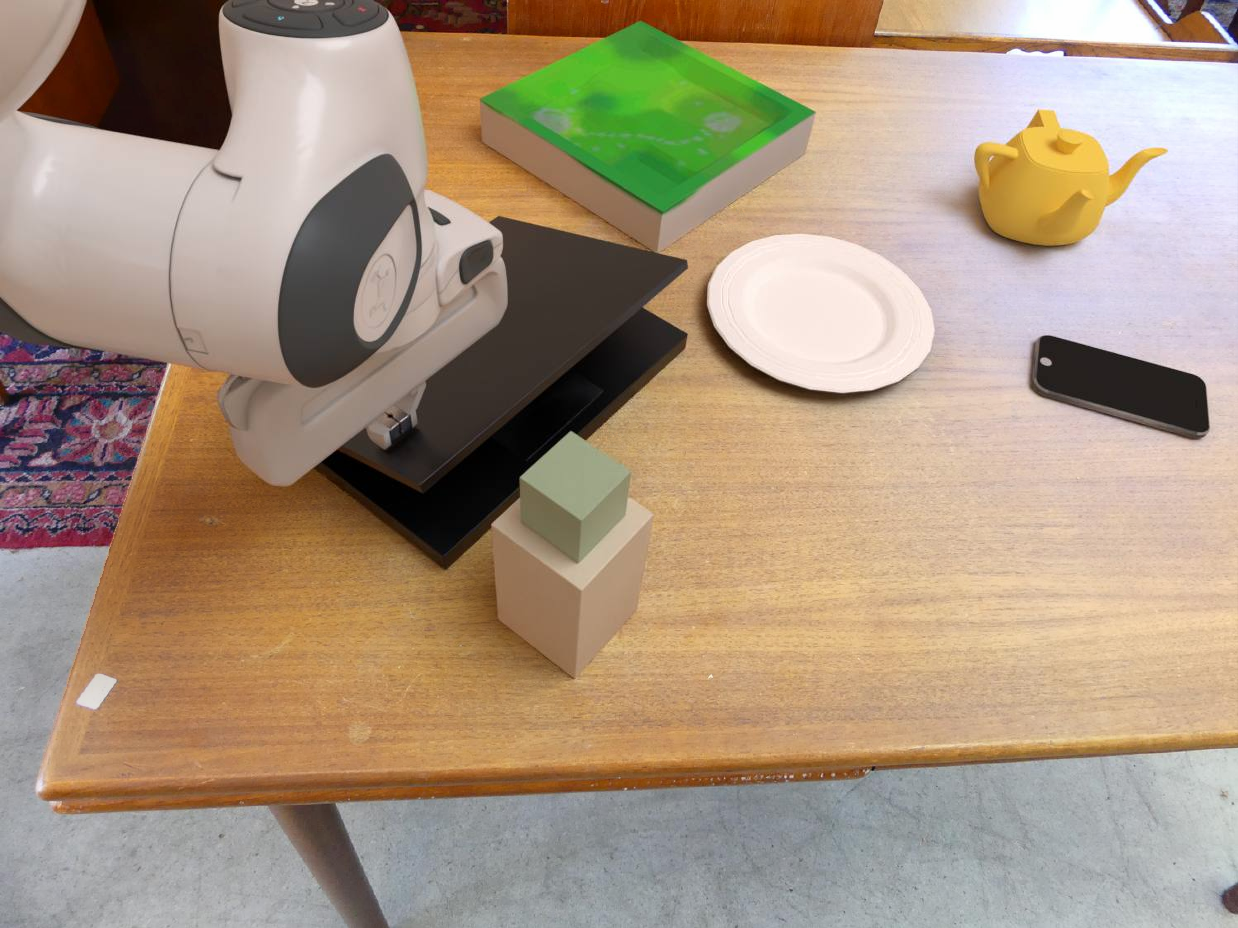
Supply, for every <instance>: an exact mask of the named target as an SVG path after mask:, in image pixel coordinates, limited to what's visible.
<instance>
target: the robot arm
mask: <svg viewBox="0 0 1238 928" xmlns="http://www.w3.org/2000/svg"><path fill="white" fill-rule="evenodd" d="M87 1H88V0H0V332H1V333H2V334H4V335H6V336H8V337H10V338H12V339H14V340H17V341H20V342H22V343H27V344H30V345H31V344H32V345H38V346H48V347H57V348H64V349H65V348H66V349H75V350H83V351H84V350H85V351H102V352H107V353H113V354H118V355H123V356H128V357H133V358H139V359H145V360H149V361H154V362H160V363H165V364H171V365H176V366H181V367H186V368H191V369H198V370H203V371H207V372H216V373H222V374H226V375H227V374H228V376H227V377H226V379H225V380H224V381H223V383H222V384H221V387H219V388H218V390H217V391H216V400H217V404H218V406H219V409H220V411H221V413H222V415H223V417H224V420H225V422H226V423H227V424H228V430H229V434H230V438H231V440H232V445H233V447H234V450H235V453H236V456H237V457H238V460H240V462H241V463H242V464H243V465H244V466H245V467H246V468H247V469H248V470H249V471H251V472H252V474H255V475H256V476H257V477H258V478H259V479H261V480H262V481H263V482H265V483H267V484H269V485H271V486H275V487H284V488H286V487H290V486H292V485H293V484H295V483H296V482H298V481H299V480H300V479H301V478H302V477H304V476H305V475H306V474H307V473H309V472H310V471H311V470H313V469H314V467H315V466H316V465H318V464H319V463H320V462H322V461H323V460H324V459H325V458H327V457H328V456H329V455H331V454H332V453H333V452H334V451H336V450H337V449H338V448H340V447H341V446H342V445H343V444H345V443H346V442H347V441H349V440H350V439H351V438H352V437H354V436H355V435H356V434H358V433H359V432H360V431H361V430H363V429H364V428H366V429H367V433H368V436H369V438H370V439H371V440H372V441H373V442H374V443H376V444H377V445H378V446H380V447H381V448H382V449H384V450H385V449H387V448H388V447H389V446H391V445H392V444H393V443H394V442H395V441H396V440H398V439H399V438H400V437H401V436H403V435H404V434H405V433H407V432H408V431H409V430H411V429H412V428H413V427H414V426H416V425H417V424H418V422H417V415H416V409H417V407H418V405H419V402H420V400H421V397H422V395H423V392H424V390H425V387H426V380H427V379H428V378H430V377H431V376H432V375H434V374H435V373H436V372H438V371H439V370H440V369H441V368H443V367H444V366H445V365H447V364H448V363H449V362H450V361H452V360H453V359H454V358H456V357H457V356H458V355H459V354H461V353H462V352H463V351H465V350H466V349H467V348H468V347H470V346H471V345H472V344H474V343H475V342H476V341H477V340H479V339H480V338H481V337H483V336H484V335H485V334H486V333H488V332H489V331H490V330H492V329H493V328H494V327H496V326H497V325H498V324H499V322H500V321H501V319H502V317H503V315H504V313H505V311H506V308H507V303H508V291H507V276H506V269H505V264H504V261H503V259H502V258H501V254H502V250H503V235H502V233H501V231H499V230H498V229H497V228H495V227H494V226H493V225H491V224H490V223H489V222H490V221H487V220H486V219H485V218H483V217H482V216H480V215H479V214H477V213H476V212H474V211H472V210H470V208H467V207H465V206H464V205H461V204H460V203H458V202H456V201H455V200H452V199H451V198H449V197H446V196H444V195H442V194H440V193H437V192H435V191H433V190H431V189H426V187H427V183H428V178H429V161H428V152H427V143H426V137H425V129H424V123H423V122H424V121H423V116H422V111H421V106H420V99H419V95H418V91H417V86H416V82H415V77H414V73H413V69H412V66H411V62H410V59H409V58H410V57H409V55H408V51H407V47H406V44H405V41H404V39H403V36H402V34H401V31H400V27H399V26H398V24H397V21H396V19H395V18H394V16H393V15H392V13H391V12H390V11H389V10H388V8H386V7H385V6H384V5H382V3H380V2H377V1H375V0H227V1H226V2H225V3H224V4H223V5H222V6H221V8H220V10H219V14H218V34H219V46H220V53H221V61H222V67H223V73H224V81H225V86H226V91H227V97H228V103H229V106H230V111H231V118H230V119H231V120H230V124H229V128H228V130H227V134H226V136H225V139H224V141H223V143H222V145H221V147H220V148H219V149H217V148H216V149H214V148H209V147H204V146H198V145H192V144H186V143H180V142H175V141H169V140H164V139H159V138H151V137H146V136H140V135H134V134H129V133H124V132H117V131H112V130H106V129H102V128H99V127H96V126H93V125H90V124H87V123H83V122H78V121H73V120H70V119H65V118H60V117H55V116H51V115H45V114H41V113H36V112H29V111H28V112H27V111H22V110H21V111H20V110H18V109H20V108H21V107H22V106H23V105H24V104H25V103H26V102H27V101H28V100H29V99H30V98H31V97H32V96H33V94H35V93H36V91H37V90H38V89H39V88H40V87H41V86H42V85H43V83H44V82H45V81H46V80H47V79H48V77H49V76H50V74H51V73H52V72H53V71H54V69H55V68H56V66H57V65H58V64H59V62H60V61H61V59H62V57H63V56H64V55H65V52H66V50H67V49H68V47H69V45H70V43H71V42H72V39H73V38H74V35H75V33H76V31H77V29H78V27H79V24H80V23H81V19H82V16H83V14H84V10H85V8H86V5H87Z"/></svg>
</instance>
